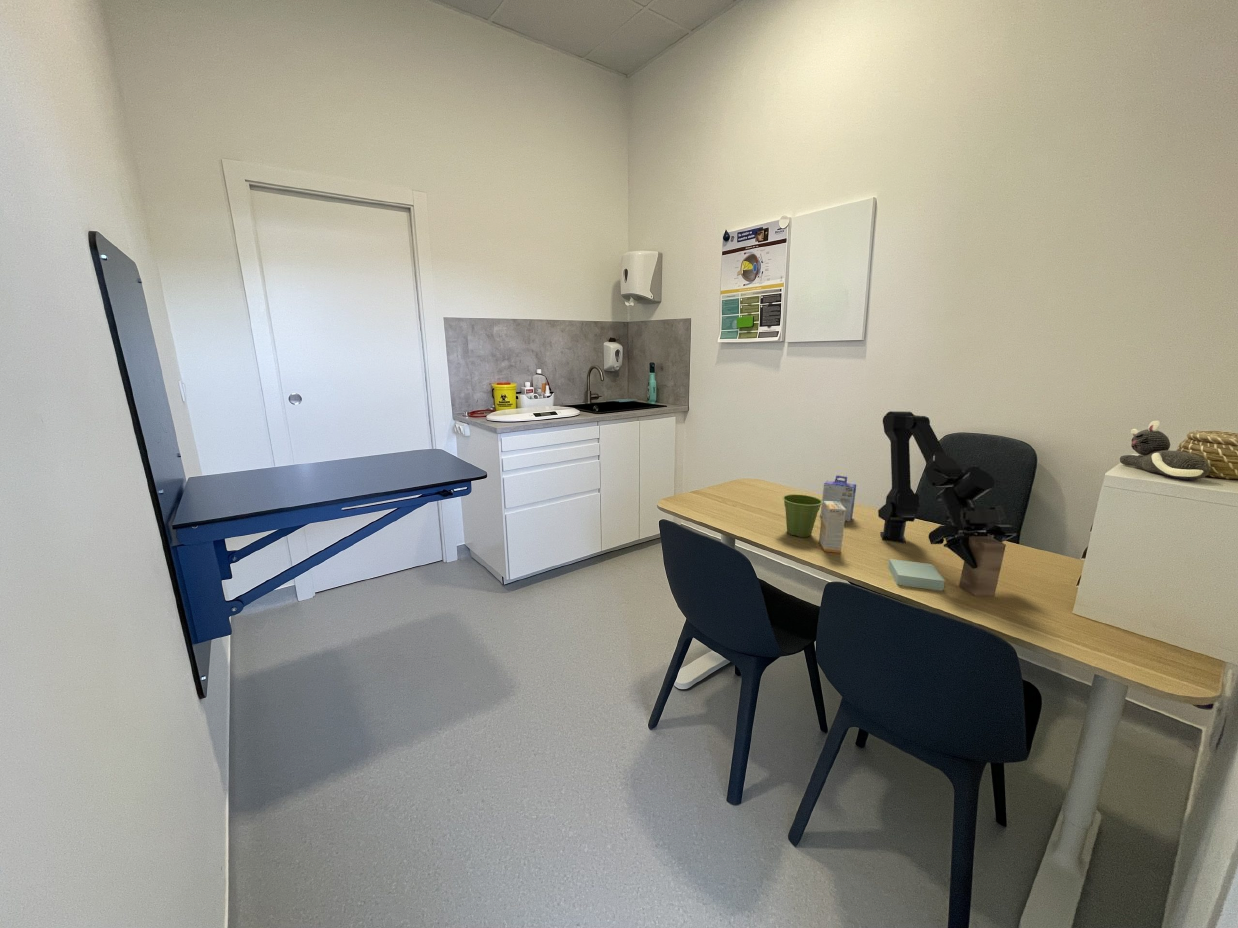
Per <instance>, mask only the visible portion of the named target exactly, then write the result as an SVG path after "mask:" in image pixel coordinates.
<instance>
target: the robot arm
mask: <svg viewBox="0 0 1238 928" xmlns="http://www.w3.org/2000/svg"><path fill="white" fill-rule="evenodd" d="M882 425H883V431H884V434H885V435H886V437H887V438H888V440H889V442H890V467H891V468H890V470H891V471H890V473H891V488H890V491H889V492H888V493H887V494H886V496H885V503H884V505H881V507H880V508H879V509H878V510H877V512H878V515H877V516H878V518H880V519H881V520H883V521H884V523H883V531H880V532H879V534H880V537H881V540H883V541H889V542H896V543H901V544H902V543H903V544H904V543H905V544H906V543H907V539H906V537H905V532H906V525H907V522H911V523H914V521H915V520H916V517H917V516H918V514H919V511H920V508H921V506H920V495H919V493H915V492H914V491H913V489H912V487H911V482H912V481H911V453H910V452H911V451H910V440H911V438H912V437H913V438H914V441H915V443H916V445H917V447H918V449H919V452H920V453H921V455H922V457H923V459H924V461H925V467H924V473H925V477H926V479H927V482H928V484H929V485H931V486H932V487H935V488H938V487H939V488H940V487H941V488H944V489H943V490H938V491H937V494H936V495H935V498H934V501H938V502H939V501H941V502H942V504H943V506H944V508H945V511H946V513H947V515H946V516H945V521H946V522H951V524H952V525H951V524H947V525H938V526H936V528H934V529H933V530H931V531H930V532H929V533H928V540H929V543H930V544H931V545H942V544H943V543H944V542H945V541H946V542H945V543H944V544H943V545H942V546H943V548H947V549H949V550H950V551H951V552H953V553H954V554H955V555H957V556H958V557H959V558H960V559H961V560H962V561H963V562H964V561H965V562H966V563H967V564H968V565H969V566H970V567H971V568H973V569H975V568H977V565H976V561H975V559H974V556H973V554H972V552H971V549H970V547H969V536H984V537H991V538H993V539H995V540H997V541H999V542H1002V543H1004V542H1005V541H1007V540H1010V539H1011V538H1013V537H1015V536H1017V532H1016V531H1015V528H1014V526H1012V525H1010V524H1001V523H1002V521H1001V520H1005V519H1006V513H1005V510H1004V508H1003V507H1002V506H1001V505H997V506H996V505H995V506H989V508H988V509H981V508H979V507H978V506H974V505H973V503H972V501H975V500H977V499H978V498H980V497H981V496H983V495H984V494H986V493H987V492H989V491H990V490H992V489H993V488H994V487H995V480H994V477H993V476H991V475H990V474H989V472H986V471H985V470H982V469H981V468H980V466H979V465H970V466H969V467H968V468H967V469H966V470H965V471H964V470H963V469H962V468H961V465H959V464H958V462H957V461H956V460H955V459H953V458H952V457H950V456H949V455H947V453H946V452H945V450H944V448H943V446H942V444H941V443H940V441H939V439H938V437H937V435H936V434H935V431H934V429H933V428H932V426H931V421H930V418H929V417H928V416H926V415H915V414H914V413H913V412H912V411H899V410H898V411H893V410H892V411H888V412H887V413H885V414H884V416H883V417H882ZM994 523H997V524H995V525H993V526H991V527H990V528H988V527H989V526H990V524H994ZM985 528H988V529H985Z"/></svg>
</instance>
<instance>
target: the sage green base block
mask: <svg viewBox="0 0 1238 928" xmlns="http://www.w3.org/2000/svg"><path fill="white" fill-rule="evenodd" d="M888 561H889V562H888V567H887V568H888V570H889V572H890V574H891V575H892V578H893V579H894V582H895V583H896V585H897V586H898V585H899V586H905V587H913V588H919V589H920V588H921V589H927V590H935V591H944V587H945V581H946V580H945V579H944V577H942V575H941V574H940V573H939V571H938V570H937V569H936V567H935V566H934V565H933V564H931V563H925V562H917V561H909V560H901V559H895V558H893V559H892V558H890V559H889V560H888Z"/></svg>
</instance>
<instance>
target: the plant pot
mask: <svg viewBox="0 0 1238 928" xmlns="http://www.w3.org/2000/svg"><path fill="white" fill-rule="evenodd" d="M781 499H782V500H783V501H784V505H783V506H784V508H785V519H786V520H785V521H786V524H785V525H786V531H787V532H786V533H788V534H789V535H790V536H797V537H799V538H807V537H810V536H811V535H812V534H813V529H814V527H815V523H816V520H817V516H818V513H819V511H820V510H821V505H822V503H823V501H822V498H819V497H816V496H812V495H807V494H798V493H797V494H796V493H792V494H785V495H783V496H782V498H781Z"/></svg>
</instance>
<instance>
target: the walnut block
mask: <svg viewBox="0 0 1238 928" xmlns="http://www.w3.org/2000/svg"><path fill="white" fill-rule="evenodd" d="M969 547H970V549H971V552H972V554H973V556H974V559H975V561H976V565H977V568H975V569H973V568H971V567H970V566H969V565H968V564H967V563H966V562H965V561H964V560H963V564H962V565H963V566H962V570H961V574H960V580H959V584H958V587H960V588H962V589H964V590H965V591H967V593H968V592H969V593H970V594H971V595H973V596H976V597H977V596H978V597H979V596H980V597H981V596H982V597H986V596H987V597H988V596H991V597H993V596H996V591H997V586H998V582H999V577H1000V572H1001V569H1002V565H1003V564H1002V563H1003V561H1004V560H1003V559H1004V556H1005V552H1006V551H1005V550H1006V547H1007V544H1005V543H1004V542H999V541H997V540H995V539H993V538H991V537H984V536H969Z"/></svg>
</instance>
